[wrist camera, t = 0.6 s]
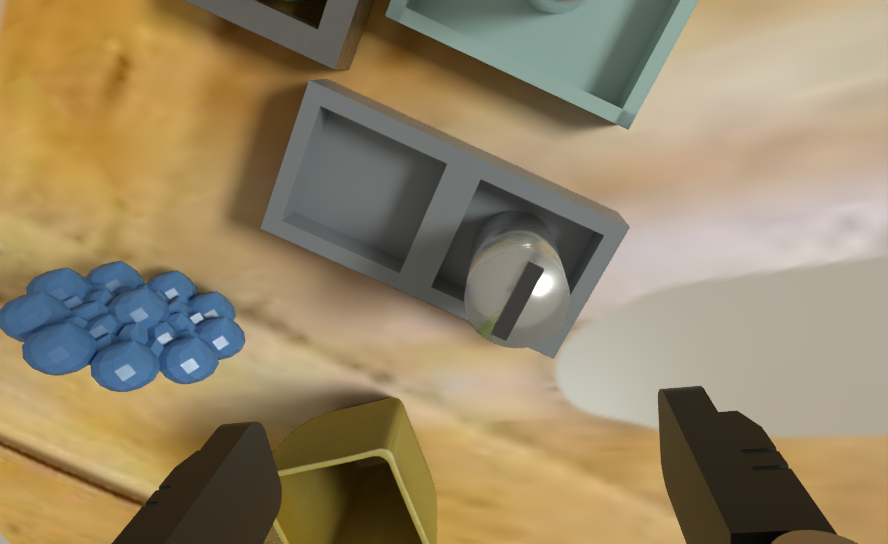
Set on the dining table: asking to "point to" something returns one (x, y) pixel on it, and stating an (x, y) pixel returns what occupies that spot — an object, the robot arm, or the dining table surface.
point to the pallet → (420, 202)
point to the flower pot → (356, 480)
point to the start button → (294, 0)
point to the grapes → (122, 326)
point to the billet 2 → (555, 5)
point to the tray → (562, 44)
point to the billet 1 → (516, 281)
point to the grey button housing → (300, 27)
